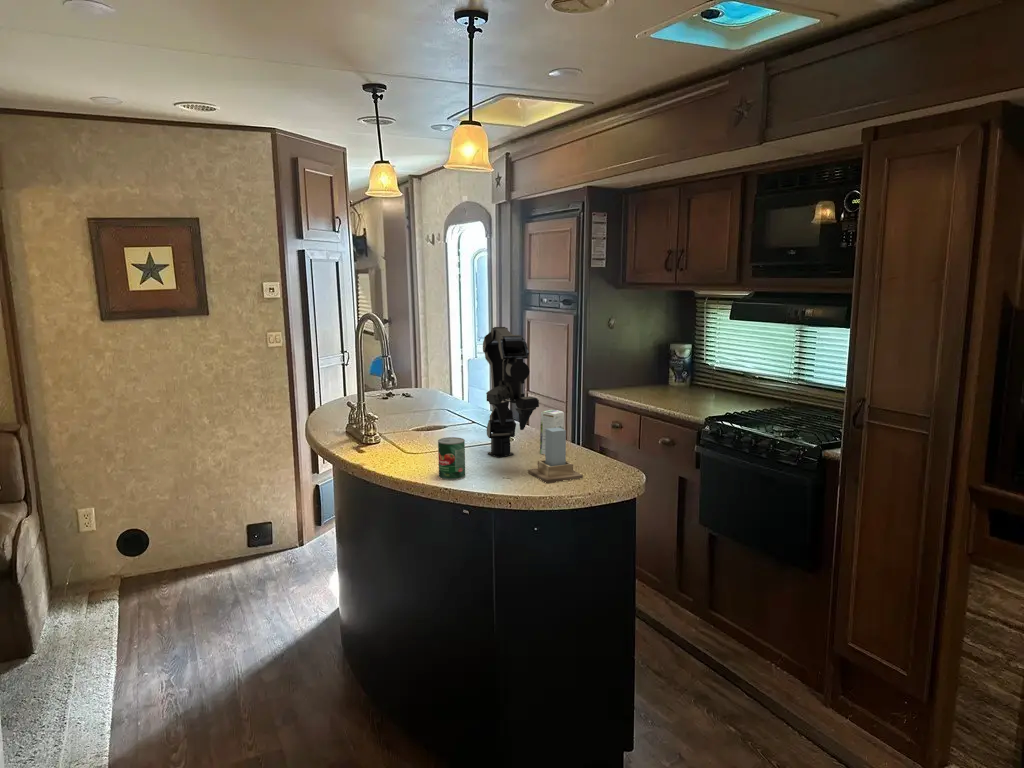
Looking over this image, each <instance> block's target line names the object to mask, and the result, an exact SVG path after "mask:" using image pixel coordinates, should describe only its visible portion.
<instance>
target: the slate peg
mask: <svg viewBox="0 0 1024 768" xmlns="http://www.w3.org/2000/svg"><path fill="white" fill-rule="evenodd" d="M566 438H567V430H566V429H565V428H564V429H561V428H559V427H558V428H548V429H546V442H545V455H544V457H545V458H544V460H545V464H547V465H549V466H558V465H566V461H567V460H566V459H567V458H566V457H567V455H566V453H567V452H566V448H567V446H566V444H567V439H566Z"/></svg>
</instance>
